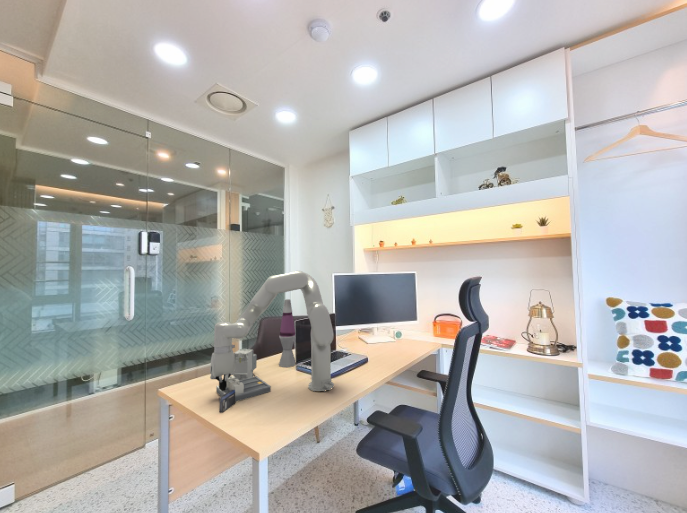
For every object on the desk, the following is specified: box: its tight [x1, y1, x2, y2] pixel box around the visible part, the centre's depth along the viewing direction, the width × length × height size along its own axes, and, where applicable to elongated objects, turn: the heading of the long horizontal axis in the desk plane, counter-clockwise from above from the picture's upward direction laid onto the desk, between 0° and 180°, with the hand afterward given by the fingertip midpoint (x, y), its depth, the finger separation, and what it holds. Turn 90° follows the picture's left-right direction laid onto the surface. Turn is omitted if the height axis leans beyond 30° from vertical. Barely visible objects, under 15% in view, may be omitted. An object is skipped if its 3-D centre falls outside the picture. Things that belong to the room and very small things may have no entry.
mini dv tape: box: [218, 390, 236, 413], centre depth 122 cm, size 8×2×6 cm, turn 164°
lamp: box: [278, 298, 296, 368], centre depth 178 cm, size 11×11×40 cm
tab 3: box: [232, 382, 244, 395], centre depth 131 cm, size 3×4×5 cm
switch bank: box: [215, 376, 272, 403], centre depth 138 cm, size 17×20×3 cm
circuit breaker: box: [232, 348, 258, 380], centre depth 156 cm, size 8×14×15 cm, turn 174°
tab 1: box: [226, 375, 235, 388], centre depth 139 cm, size 3×4×5 cm
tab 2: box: [229, 379, 239, 391], centre depth 135 cm, size 3×4×5 cm
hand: (222, 389), depth 132 cm, fingers closed
